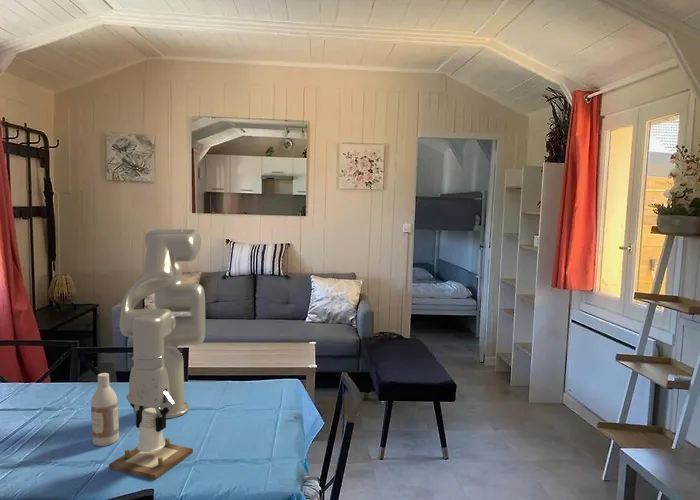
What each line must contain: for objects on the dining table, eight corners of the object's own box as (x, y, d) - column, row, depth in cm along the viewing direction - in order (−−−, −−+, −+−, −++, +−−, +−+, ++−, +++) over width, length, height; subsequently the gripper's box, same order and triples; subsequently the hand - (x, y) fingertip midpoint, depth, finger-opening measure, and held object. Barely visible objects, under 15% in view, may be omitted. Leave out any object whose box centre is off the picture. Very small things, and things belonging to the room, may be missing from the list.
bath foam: (87, 444, 152) (84, 377, 150) (105, 434, 158) (102, 369, 156) (106, 448, 150) (104, 379, 147) (124, 437, 156) (121, 371, 154)
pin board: (109, 468, 139) (108, 456, 139) (149, 443, 153) (148, 432, 153) (155, 479, 134) (155, 467, 133) (192, 452, 148) (192, 441, 147)
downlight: (129, 448, 141) (129, 412, 140) (148, 437, 148) (149, 403, 146) (153, 456, 138) (153, 419, 137) (171, 444, 145) (172, 409, 143)
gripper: (112, 362, 140) (115, 428, 142) (166, 370, 134) (168, 439, 136) (133, 354, 147) (135, 417, 149) (185, 361, 141) (186, 427, 143)
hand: (151, 427), depth 142 cm, fingers closed on downlight, 5 cm apart
